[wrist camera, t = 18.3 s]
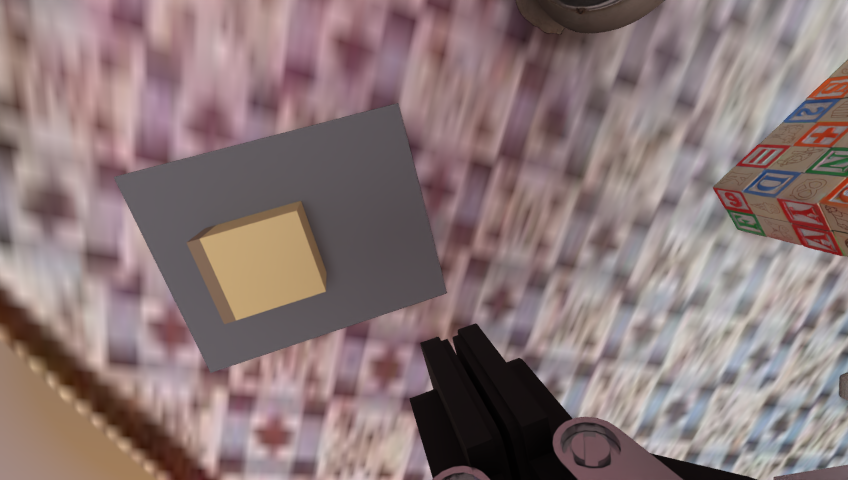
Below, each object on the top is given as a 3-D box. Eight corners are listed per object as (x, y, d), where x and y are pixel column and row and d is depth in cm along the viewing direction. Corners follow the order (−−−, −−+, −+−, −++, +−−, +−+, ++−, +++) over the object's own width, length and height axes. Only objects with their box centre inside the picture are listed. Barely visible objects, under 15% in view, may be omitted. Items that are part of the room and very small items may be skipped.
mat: (396, 103, 30) (398, 103, 30) (445, 290, 35) (447, 293, 34) (118, 176, 27) (113, 177, 27) (212, 368, 32) (210, 372, 32)
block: (296, 210, 26) (186, 242, 25) (326, 291, 28) (224, 324, 27) (300, 200, 30) (205, 228, 29) (326, 272, 32) (237, 300, 31)
